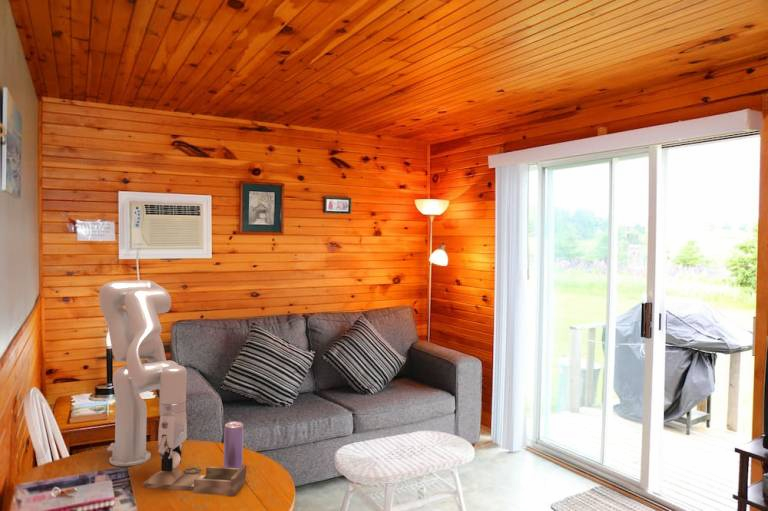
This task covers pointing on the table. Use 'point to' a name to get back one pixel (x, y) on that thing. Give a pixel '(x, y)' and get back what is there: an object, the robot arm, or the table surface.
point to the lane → (200, 480)
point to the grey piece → (192, 469)
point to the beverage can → (233, 445)
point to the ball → (175, 459)
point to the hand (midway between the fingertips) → (171, 466)
